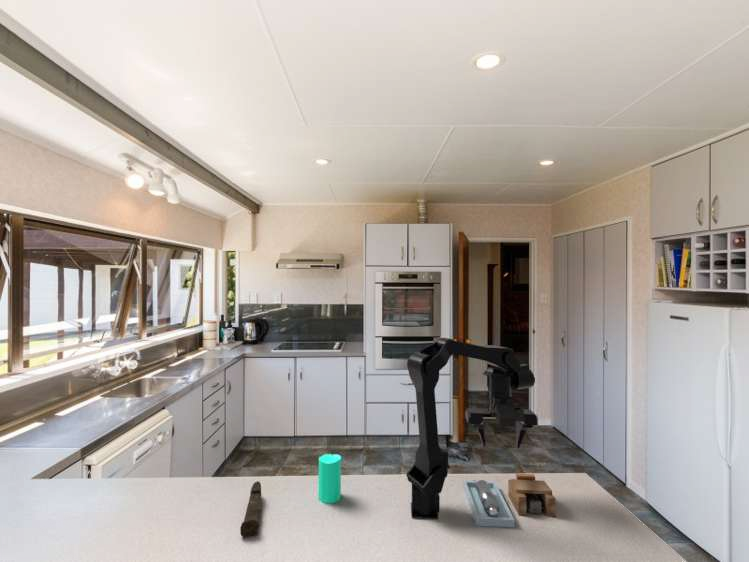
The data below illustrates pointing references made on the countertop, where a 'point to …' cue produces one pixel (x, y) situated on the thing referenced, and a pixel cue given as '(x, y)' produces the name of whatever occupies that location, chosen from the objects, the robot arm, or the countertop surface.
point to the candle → (329, 478)
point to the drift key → (530, 495)
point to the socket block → (531, 486)
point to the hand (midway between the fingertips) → (500, 447)
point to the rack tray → (478, 511)
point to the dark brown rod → (252, 512)
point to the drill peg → (487, 498)
